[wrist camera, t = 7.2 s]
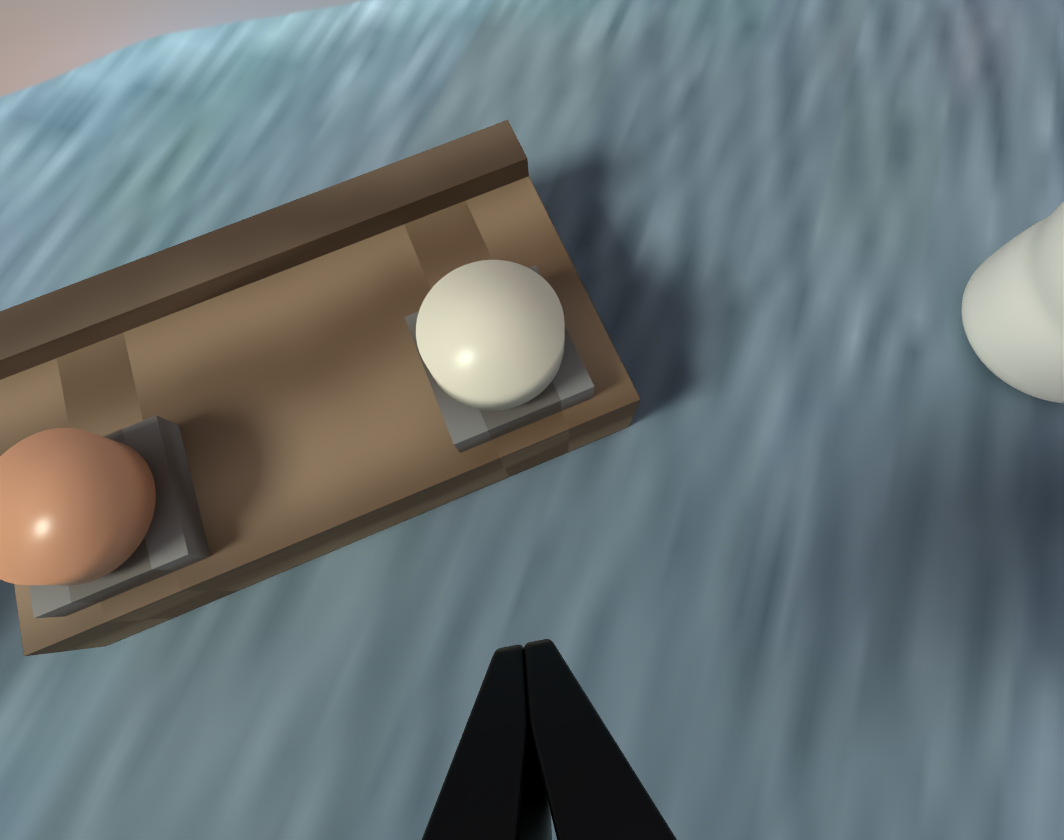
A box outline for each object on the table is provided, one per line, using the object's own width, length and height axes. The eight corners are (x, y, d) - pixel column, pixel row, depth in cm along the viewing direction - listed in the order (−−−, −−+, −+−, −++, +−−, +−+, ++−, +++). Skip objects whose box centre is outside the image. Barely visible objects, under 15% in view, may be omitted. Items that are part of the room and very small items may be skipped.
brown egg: (253, 492, 23) (153, 460, 17) (192, 606, 22) (63, 611, 16) (157, 449, 23) (30, 406, 18) (92, 558, 22) (-64, 547, 17)
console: (629, 426, 24) (645, 387, 19) (105, 646, 22) (-12, 660, 18) (516, 195, 27) (507, 115, 22) (56, 373, 26) (-52, 326, 21)
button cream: (581, 358, 24) (586, 286, 18) (538, 460, 22) (529, 418, 17) (478, 321, 24) (453, 241, 19) (432, 419, 23) (390, 365, 18)
